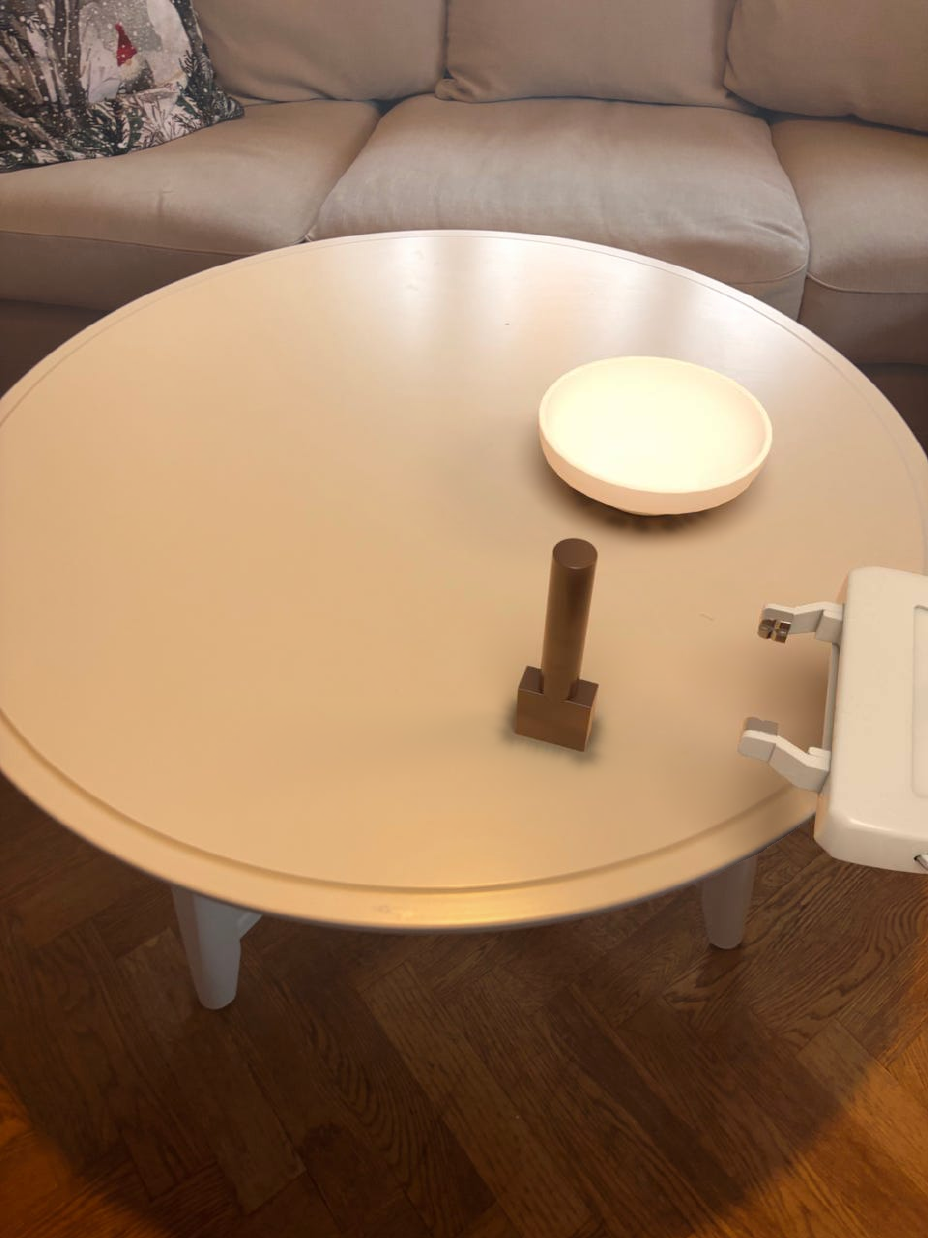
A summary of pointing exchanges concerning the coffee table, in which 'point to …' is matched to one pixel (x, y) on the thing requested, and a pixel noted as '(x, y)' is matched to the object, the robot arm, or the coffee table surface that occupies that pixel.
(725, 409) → the bowl
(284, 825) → the coffee table surface
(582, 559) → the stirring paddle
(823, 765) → the robot arm
